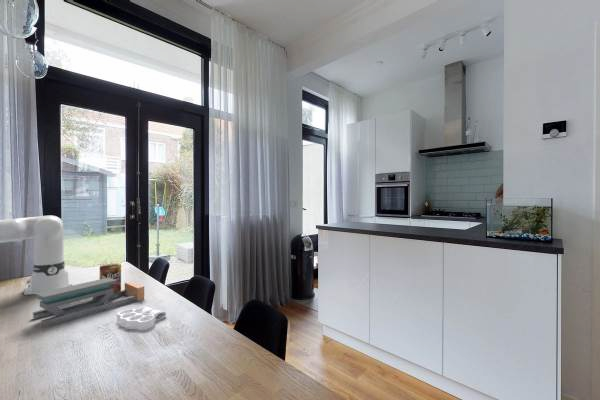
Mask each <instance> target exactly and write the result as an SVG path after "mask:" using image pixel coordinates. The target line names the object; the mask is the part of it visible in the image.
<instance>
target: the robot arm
mask: <svg viewBox="0 0 600 400" xmlns="http://www.w3.org/2000/svg"><path fill="white" fill-rule="evenodd" d="M29 239H33V244H34V245H33V246H34V264H33V267H32V268H33V269H32V271H33V273H32V275H31V276H30V277H29V278H28V279H26V283H25V284H26V285H27V286H25V288H24V294H23V295H24V296H28V295H29V296H30V295H36V293H40V292H45V291H50V290H54V289H59V288H63V287H68V286H72V285H73V283H72V282H70V281H69V271H68V270H66V269H65V261H64V222H63V220H62V219H61V218H60V217H58V216H56V215H51V214H50V215H40V216H31V217H20V218H18V217H17V218H7V219H5V218H4V219H0V243H1V244H2V243H9V242H10V243H11V242H19V241H23V240H29Z"/></svg>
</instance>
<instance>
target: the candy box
mask: <svg viewBox="0 0 600 400" xmlns="http://www.w3.org/2000/svg"><path fill="white" fill-rule="evenodd" d="M104 278H111V279H114V280H116V284H113V285H109V287H112V288H114V292H118V291H122V262H117V263H115V262H114V263H108V264H100V265H99V280H100V279H104Z"/></svg>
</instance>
